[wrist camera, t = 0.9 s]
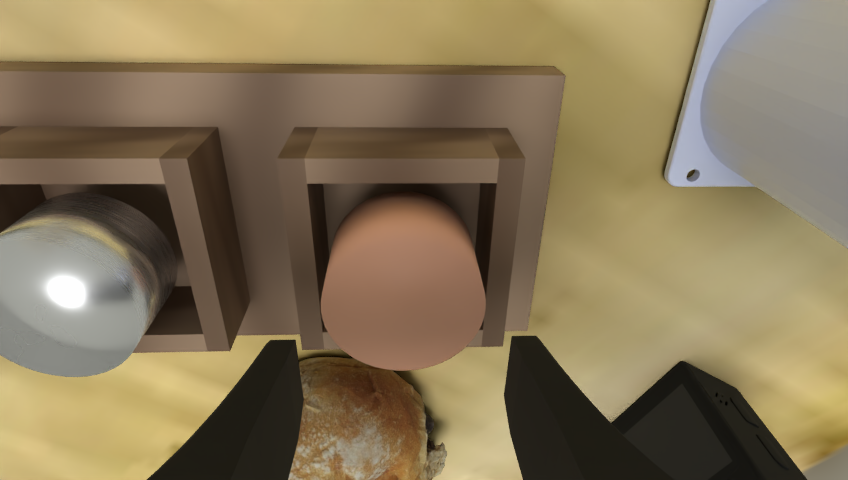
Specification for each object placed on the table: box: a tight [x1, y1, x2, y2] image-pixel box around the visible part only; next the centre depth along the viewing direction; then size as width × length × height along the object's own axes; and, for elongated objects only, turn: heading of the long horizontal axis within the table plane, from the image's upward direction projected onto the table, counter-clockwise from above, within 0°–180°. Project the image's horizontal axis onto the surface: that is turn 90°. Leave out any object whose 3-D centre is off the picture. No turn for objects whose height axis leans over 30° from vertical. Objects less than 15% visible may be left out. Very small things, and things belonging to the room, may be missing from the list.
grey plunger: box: [0, 192, 178, 377], centre depth 16 cm, size 5×5×3 cm
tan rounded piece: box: [321, 191, 486, 371], centre depth 16 cm, size 5×5×3 cm
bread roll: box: [288, 357, 447, 480], centre depth 25 cm, size 10×10×8 cm
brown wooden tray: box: [0, 62, 565, 353], centre depth 19 cm, size 21×11×4 cm, turn 89°
